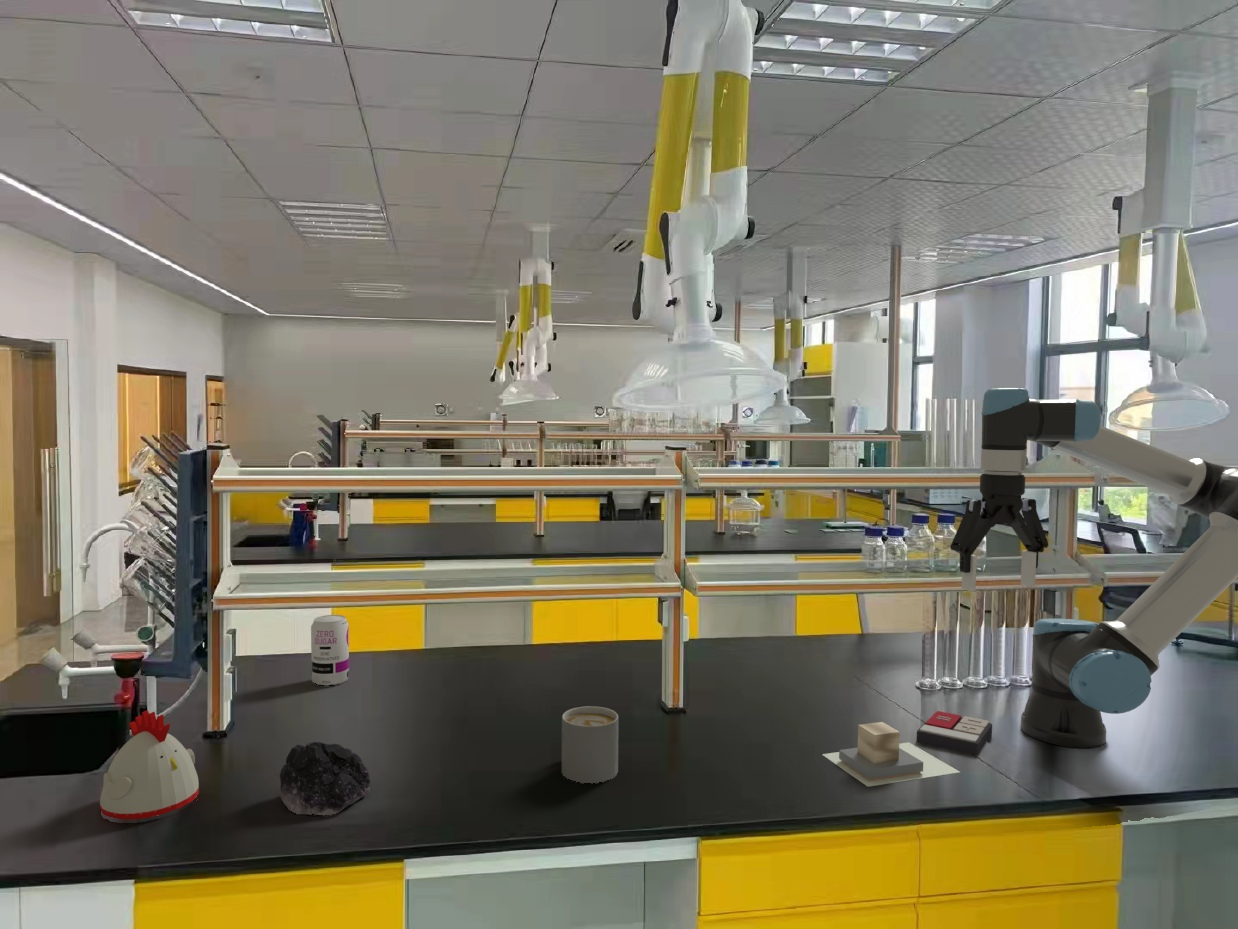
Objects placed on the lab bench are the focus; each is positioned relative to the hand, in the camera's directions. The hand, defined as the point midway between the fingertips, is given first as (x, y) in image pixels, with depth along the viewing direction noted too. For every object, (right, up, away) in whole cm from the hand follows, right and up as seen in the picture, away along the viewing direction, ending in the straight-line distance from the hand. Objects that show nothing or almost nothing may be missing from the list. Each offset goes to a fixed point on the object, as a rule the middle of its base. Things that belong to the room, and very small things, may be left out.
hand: (998, 588), depth 154 cm
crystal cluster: (-118, -32, -18) cm, 123 cm away
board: (-21, -32, -4) cm, 39 cm away
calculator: (-5, -32, +9) cm, 33 cm away
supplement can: (-137, -28, +42) cm, 146 cm away
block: (-24, -29, -6) cm, 38 cm away
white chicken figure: (-145, -32, -20) cm, 150 cm away
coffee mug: (-75, -32, -4) cm, 82 cm away
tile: (-18, -29, -4) cm, 35 cm away
